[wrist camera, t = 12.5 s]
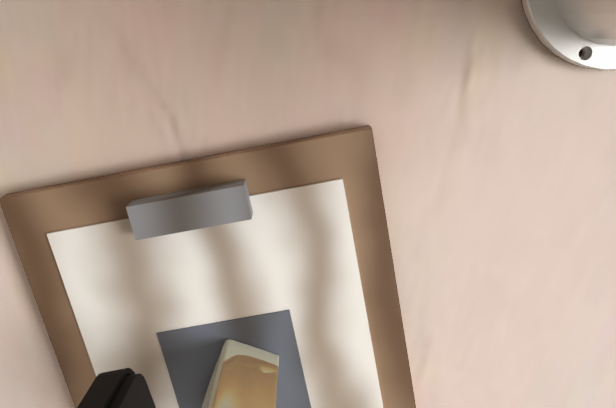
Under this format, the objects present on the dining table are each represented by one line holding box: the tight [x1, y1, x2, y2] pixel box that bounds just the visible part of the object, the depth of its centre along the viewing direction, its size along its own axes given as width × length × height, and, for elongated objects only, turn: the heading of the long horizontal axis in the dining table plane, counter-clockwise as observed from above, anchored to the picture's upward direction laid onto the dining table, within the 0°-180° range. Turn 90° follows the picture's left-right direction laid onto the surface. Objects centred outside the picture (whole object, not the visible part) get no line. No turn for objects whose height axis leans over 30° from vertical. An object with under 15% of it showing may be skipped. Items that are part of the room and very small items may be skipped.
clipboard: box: [0, 126, 416, 408], centre depth 44 cm, size 26×34×3 cm
